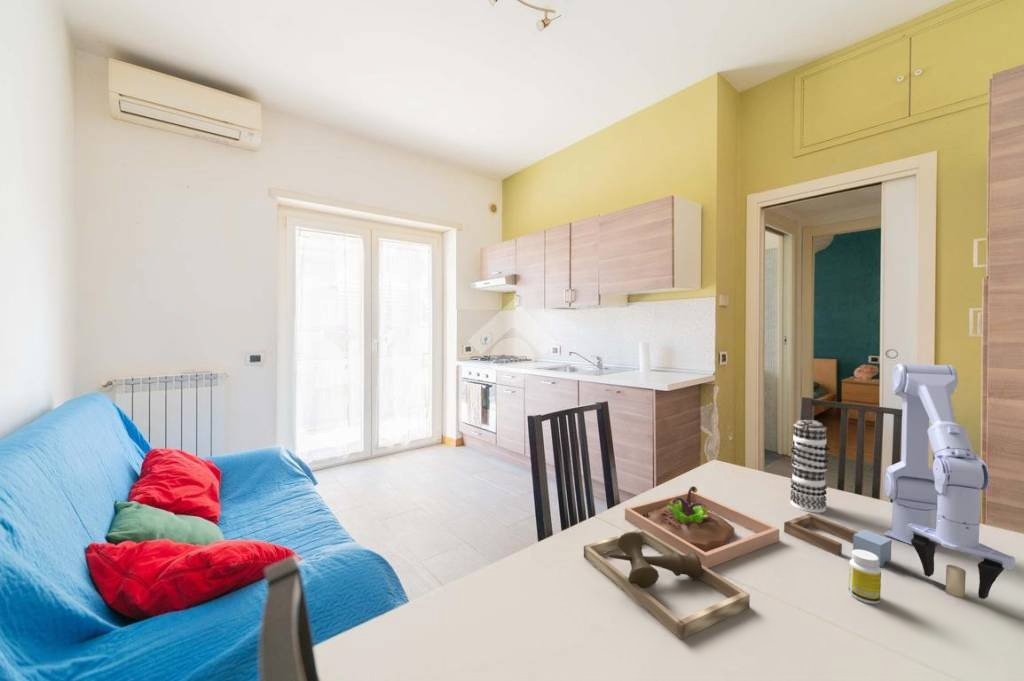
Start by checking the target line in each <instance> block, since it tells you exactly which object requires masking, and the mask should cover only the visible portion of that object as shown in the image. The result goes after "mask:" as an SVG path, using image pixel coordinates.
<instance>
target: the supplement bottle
mask: <svg viewBox="0 0 1024 681" xmlns="http://www.w3.org/2000/svg"><path fill="white" fill-rule="evenodd" d="M848 562H849V565H848V592H849V594H850V595H851V596H852V597H854V598H855V599H856V600H858V601H861V602H863V603H866V604H872V605H873V604H879V603H880V602H881V586H882V583H881V582H882V580H881V579H882V570H881V567H878V566H879V558H878V557H877V556H876V555H875V554H873V553H871V552H868V551H865V550H859V549H855V550H853V549H852V551H851V559H850V560H849V561H848Z"/></svg>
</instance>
